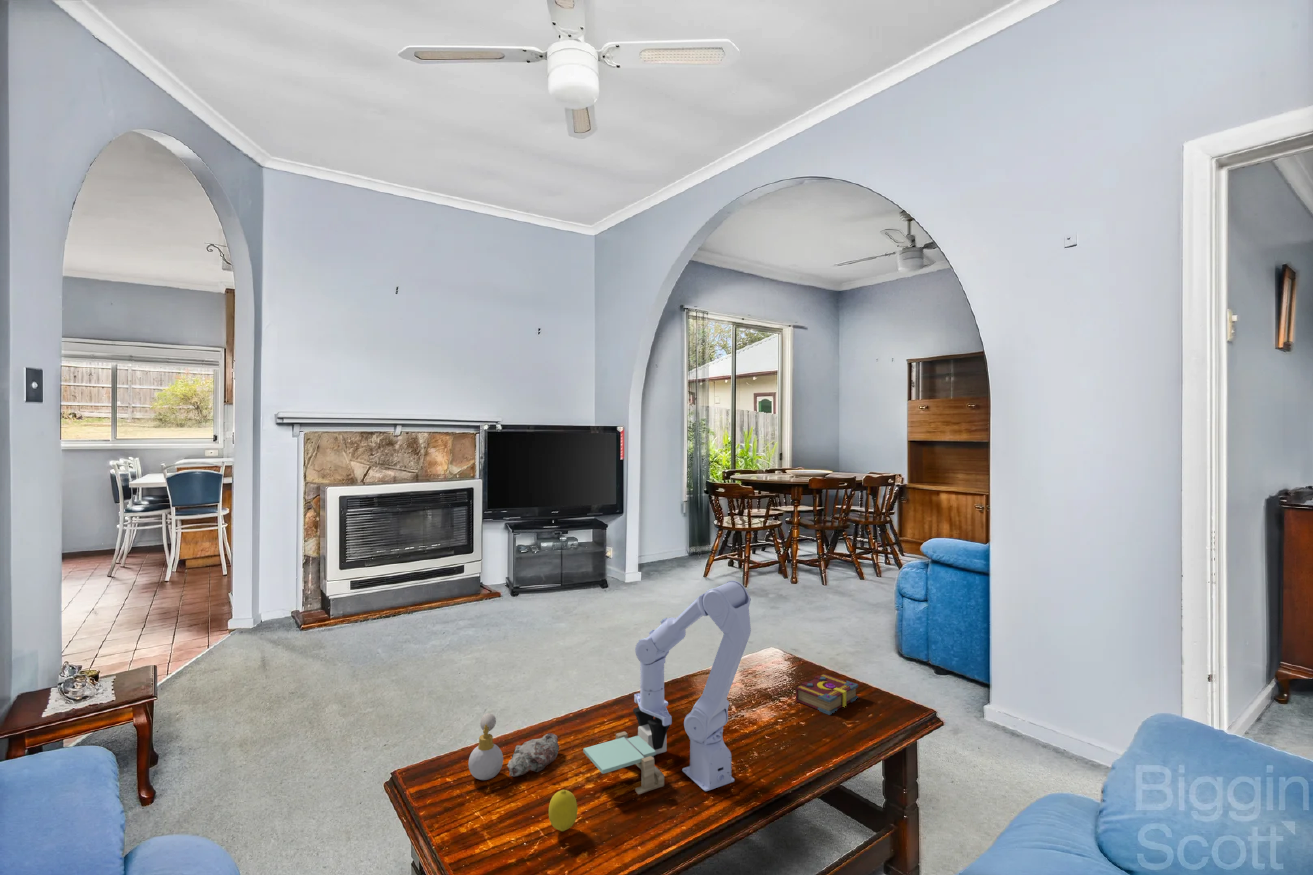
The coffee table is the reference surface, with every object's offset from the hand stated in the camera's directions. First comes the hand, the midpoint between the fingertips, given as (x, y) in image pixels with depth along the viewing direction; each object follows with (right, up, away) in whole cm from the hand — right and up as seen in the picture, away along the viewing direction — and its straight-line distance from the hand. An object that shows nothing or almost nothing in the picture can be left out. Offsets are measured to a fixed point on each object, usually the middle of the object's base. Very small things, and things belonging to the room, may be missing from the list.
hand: (652, 742), depth 149 cm
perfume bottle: (-38, -3, -9) cm, 39 cm away
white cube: (0, -2, 0) cm, 2 cm away
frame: (-4, -3, -9) cm, 10 cm away
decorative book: (+50, -3, +30) cm, 58 cm away
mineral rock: (-27, -3, -5) cm, 28 cm away
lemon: (-17, -3, -28) cm, 33 cm away
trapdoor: (-7, +1, -11) cm, 13 cm away
